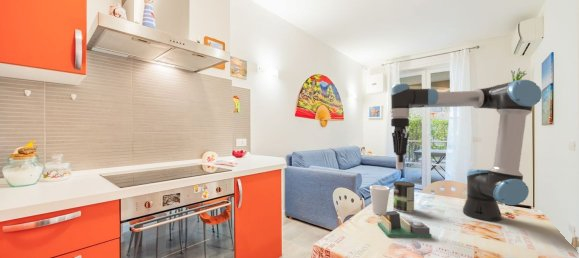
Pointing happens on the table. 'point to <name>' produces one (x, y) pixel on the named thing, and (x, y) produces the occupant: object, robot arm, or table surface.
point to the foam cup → (379, 199)
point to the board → (405, 229)
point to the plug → (394, 219)
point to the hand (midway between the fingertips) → (399, 168)
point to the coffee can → (404, 196)
